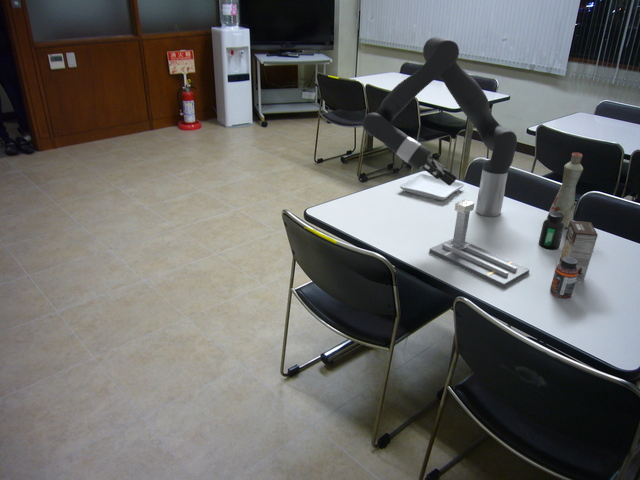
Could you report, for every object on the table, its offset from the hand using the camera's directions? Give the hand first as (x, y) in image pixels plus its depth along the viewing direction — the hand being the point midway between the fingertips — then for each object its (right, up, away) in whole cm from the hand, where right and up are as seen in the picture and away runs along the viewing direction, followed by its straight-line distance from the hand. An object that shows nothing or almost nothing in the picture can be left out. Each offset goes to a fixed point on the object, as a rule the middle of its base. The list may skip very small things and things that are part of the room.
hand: (453, 181), depth 171 cm
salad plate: (+4, +1, +53) cm, 54 cm away
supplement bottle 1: (+35, -21, +9) cm, 42 cm away
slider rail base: (+7, -26, -3) cm, 27 cm away
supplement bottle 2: (+27, -35, -18) cm, 47 cm away
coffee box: (+35, -30, -7) cm, 46 cm away
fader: (+2, -22, +2) cm, 22 cm away
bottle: (+46, -13, +26) cm, 54 cm away
